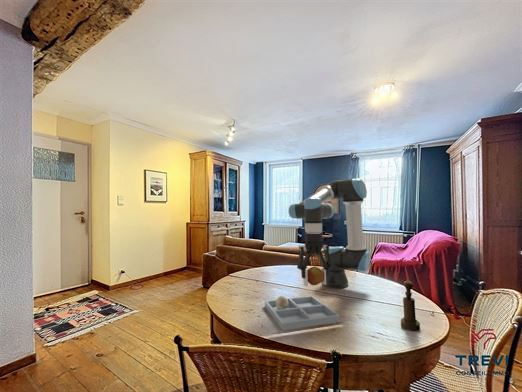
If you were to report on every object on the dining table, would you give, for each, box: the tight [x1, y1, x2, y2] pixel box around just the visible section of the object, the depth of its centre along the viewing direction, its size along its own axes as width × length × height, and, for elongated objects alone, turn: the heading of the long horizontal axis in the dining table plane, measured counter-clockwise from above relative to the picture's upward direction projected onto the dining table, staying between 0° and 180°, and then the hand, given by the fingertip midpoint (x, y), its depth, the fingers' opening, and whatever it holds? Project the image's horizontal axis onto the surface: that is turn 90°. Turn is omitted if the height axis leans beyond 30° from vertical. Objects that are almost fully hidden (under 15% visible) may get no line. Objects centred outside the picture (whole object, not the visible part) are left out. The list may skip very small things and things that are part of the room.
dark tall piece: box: [400, 280, 421, 332], centre depth 99 cm, size 7×6×18 cm
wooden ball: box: [275, 295, 289, 310], centre depth 116 cm, size 6×6×6 cm
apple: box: [306, 266, 324, 286], centre depth 110 cm, size 8×8×8 cm
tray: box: [264, 295, 341, 333], centre depth 111 cm, size 25×25×4 cm
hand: (314, 284), depth 110 cm, fingers closed on apple, 8 cm apart
